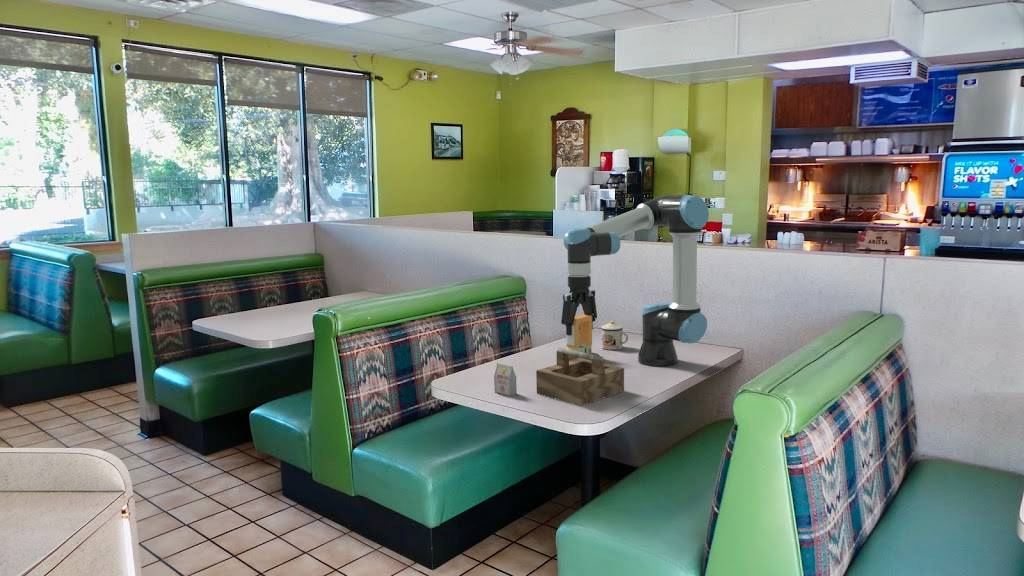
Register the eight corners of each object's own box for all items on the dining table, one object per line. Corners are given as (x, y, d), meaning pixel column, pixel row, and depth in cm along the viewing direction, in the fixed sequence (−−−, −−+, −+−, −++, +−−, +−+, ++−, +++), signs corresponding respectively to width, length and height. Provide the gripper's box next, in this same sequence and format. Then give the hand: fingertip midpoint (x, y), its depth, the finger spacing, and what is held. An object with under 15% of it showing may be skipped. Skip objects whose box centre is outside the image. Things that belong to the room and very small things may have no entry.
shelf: (579, 379, 253) (579, 341, 251) (624, 390, 239) (624, 350, 237) (536, 393, 239) (535, 353, 236) (581, 406, 224) (580, 363, 222)
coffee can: (566, 355, 288) (565, 321, 286) (591, 355, 287) (591, 321, 285) (565, 361, 278) (565, 327, 276) (592, 361, 277) (591, 327, 275)
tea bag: (501, 390, 243) (501, 362, 242) (516, 393, 239) (515, 365, 237) (494, 392, 241) (493, 364, 239) (509, 396, 236) (508, 367, 235)
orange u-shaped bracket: (583, 342, 240) (583, 314, 239) (592, 344, 237) (592, 315, 236) (567, 347, 235) (567, 317, 233) (576, 348, 232) (576, 319, 230)
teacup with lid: (597, 348, 298) (597, 321, 296) (607, 344, 305) (607, 318, 303) (622, 352, 291) (622, 324, 289) (632, 347, 298) (632, 320, 296)
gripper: (591, 271, 242) (591, 335, 246) (549, 277, 228) (550, 346, 232) (608, 272, 237) (608, 338, 240) (566, 279, 223) (566, 349, 226)
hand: (579, 342), depth 236 cm, fingers closed on orange u-shaped bracket, 8 cm apart
